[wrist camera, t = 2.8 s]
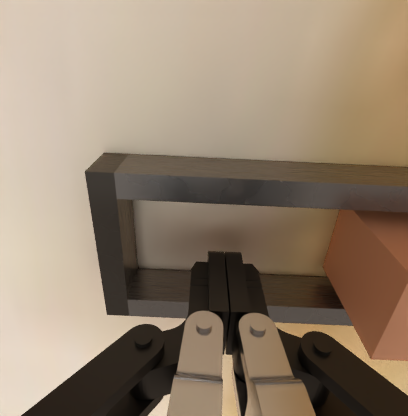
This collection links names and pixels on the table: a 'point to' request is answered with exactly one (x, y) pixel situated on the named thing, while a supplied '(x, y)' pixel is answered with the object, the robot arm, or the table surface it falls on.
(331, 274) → the block
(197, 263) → the robot arm
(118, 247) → the rectangular frame
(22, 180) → the table surface
